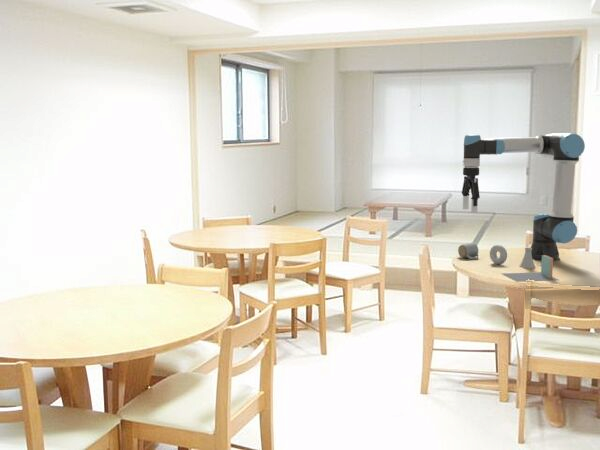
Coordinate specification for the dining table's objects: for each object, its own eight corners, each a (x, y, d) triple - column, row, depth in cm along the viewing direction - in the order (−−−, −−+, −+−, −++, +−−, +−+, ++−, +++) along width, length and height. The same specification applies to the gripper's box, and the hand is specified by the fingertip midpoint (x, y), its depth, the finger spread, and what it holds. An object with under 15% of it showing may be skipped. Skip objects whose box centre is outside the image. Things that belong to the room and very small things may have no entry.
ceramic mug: (456, 256, 339) (457, 242, 338) (469, 255, 342) (469, 241, 341) (469, 260, 330) (470, 246, 328) (482, 259, 333) (483, 244, 332)
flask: (526, 270, 306) (528, 250, 304) (516, 267, 312) (517, 247, 311) (538, 269, 308) (539, 249, 307) (527, 266, 315) (528, 246, 314)
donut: (508, 265, 316) (509, 245, 315) (503, 266, 315) (504, 246, 313) (492, 262, 325) (493, 242, 323) (487, 263, 323) (488, 243, 322)
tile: (544, 274, 294) (545, 255, 293) (552, 277, 287) (553, 258, 286) (540, 274, 294) (542, 255, 292) (548, 278, 287) (549, 258, 286)
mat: (541, 273, 299) (541, 272, 299) (559, 281, 283) (559, 280, 283) (500, 275, 296) (500, 273, 296) (516, 283, 280) (516, 281, 280)
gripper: (456, 165, 321) (454, 207, 324) (471, 168, 296) (470, 214, 299) (470, 165, 321) (469, 207, 324) (487, 168, 297) (485, 214, 300)
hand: (469, 211), depth 312 cm, fingers open, 13 cm apart
